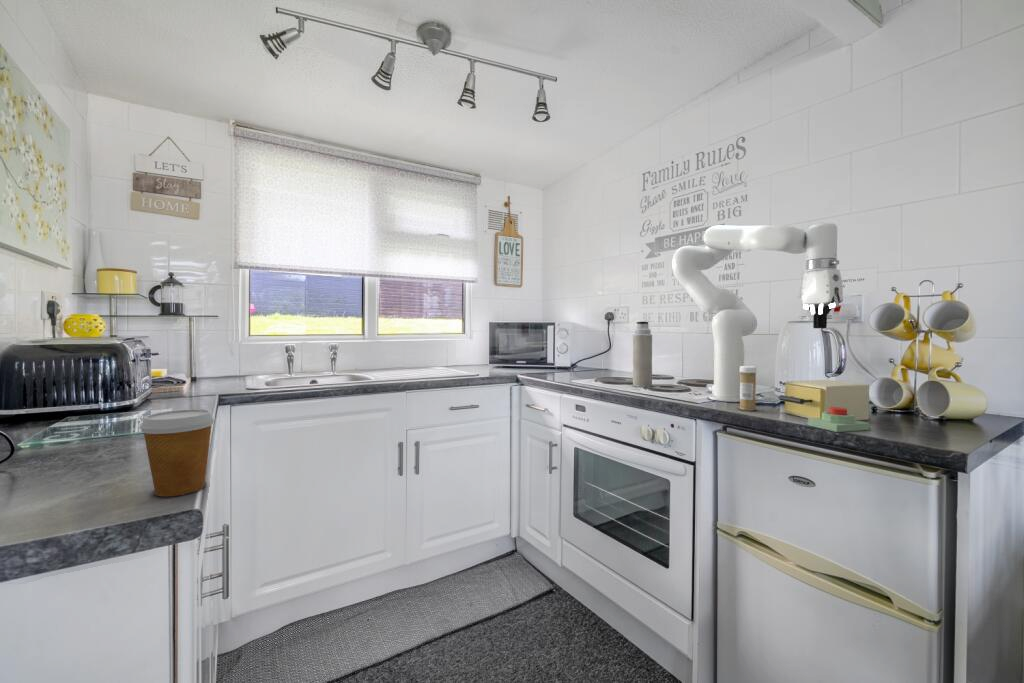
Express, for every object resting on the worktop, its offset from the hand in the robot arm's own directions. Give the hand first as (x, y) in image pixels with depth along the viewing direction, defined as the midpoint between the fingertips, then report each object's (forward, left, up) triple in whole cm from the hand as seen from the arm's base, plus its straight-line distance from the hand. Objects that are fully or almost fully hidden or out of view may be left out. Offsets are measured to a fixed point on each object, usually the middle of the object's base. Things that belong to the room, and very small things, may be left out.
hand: (819, 328), depth 132 cm
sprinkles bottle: (-8, -18, -25) cm, 32 cm away
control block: (+18, -14, -25) cm, 34 cm away
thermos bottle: (-67, -20, -25) cm, 74 cm away
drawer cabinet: (+6, -4, -25) cm, 26 cm away
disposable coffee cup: (+28, -155, -25) cm, 159 cm away
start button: (+18, -14, -22) cm, 32 cm away
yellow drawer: (+6, -8, -24) cm, 26 cm away
